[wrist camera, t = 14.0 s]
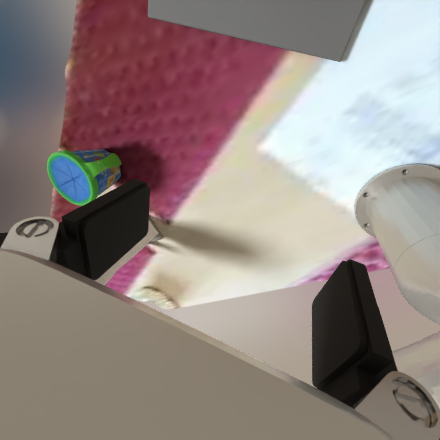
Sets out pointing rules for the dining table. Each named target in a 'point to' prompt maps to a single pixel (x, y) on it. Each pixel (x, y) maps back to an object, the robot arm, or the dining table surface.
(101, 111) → the dining table surface
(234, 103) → the dining table surface
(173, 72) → the dining table surface
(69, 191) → the snack cup
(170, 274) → the dining table surface
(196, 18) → the tool mat
